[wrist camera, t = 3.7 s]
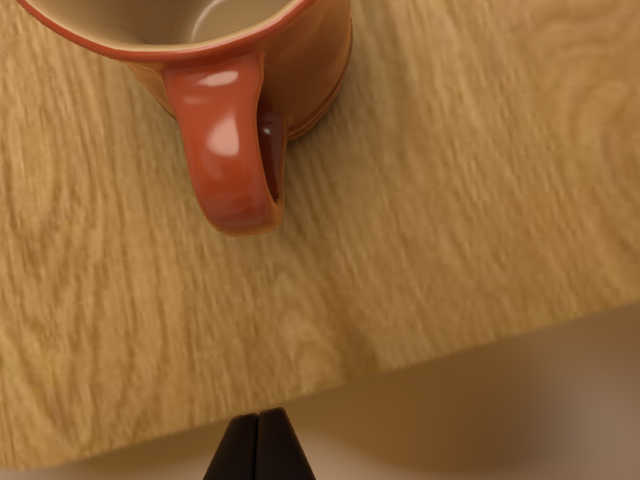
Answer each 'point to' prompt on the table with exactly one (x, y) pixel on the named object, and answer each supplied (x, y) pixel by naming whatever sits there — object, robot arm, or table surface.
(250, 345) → the table surface
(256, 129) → the mug
